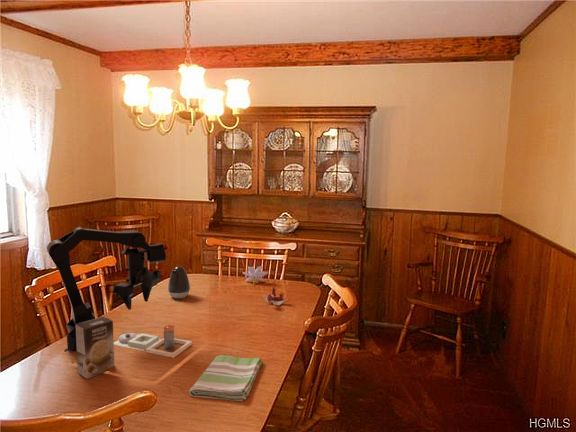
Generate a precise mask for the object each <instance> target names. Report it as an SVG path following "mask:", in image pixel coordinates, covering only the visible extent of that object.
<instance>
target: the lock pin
mask: <svg viewBox="0 0 576 432" xmlns="http://www.w3.org/2000/svg"><path fill="white" fill-rule="evenodd" d="M163 338H164V343H163V345H164V346H163V348H164V351H167V352H170V351H173V350H174V349H175V342H174V338H175V326H174V325H171V324H170V325H169V324H168V325H166V326H163Z"/></svg>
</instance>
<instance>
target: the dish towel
mask: <svg viewBox="0 0 576 432" xmlns="http://www.w3.org/2000/svg"><path fill="white" fill-rule="evenodd" d="M263 363H264V362H263V361H262V358H261V357H250V358H249V357H237V356H233V355H226V354H223V355H221V354H220V355H216V356H215V357H214V359H213V360H212V361H211V363H210V364H209V365H208V366H207V367H206V369H205V370H204V372H203V373H202V374H201V375H200V376H199V378H198V379H197V380H196V382H195V383H194V384H193V385H192V386H191V388H189V390H188V392H189V395H190V396H191V397H195V398H204V399H205V398H206V399H216V400H225V401H226V400H227V401H233V402H234V401H236V402H238V401H239V402H244V400H247V398H248V396H249V394H250V392H251V390H252V387H253V385H254V383H255V379H256V378H257V376H258V374H259V372H260V370H261V369H262V366H263Z"/></svg>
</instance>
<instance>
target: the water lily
mask: <svg viewBox="0 0 576 432" xmlns="http://www.w3.org/2000/svg"><path fill="white" fill-rule="evenodd" d="M262 267H263V266H261V265H260V266H257V267H256V268H255V267H254V266H247V271H246V272H244V271H241V272H242V274H243V275H244V276H247V277H248V278H246V279H245V280H244V281H245V282H250V281H252V280H253V287H255V285H256V284H255V283H256V281H258V282H262V283H263V282H265V279H263V278H261V277H264V276H266V275H267V274H268V273H269V271H264V270H262V269H263V268H262ZM255 280H256V281H255Z"/></svg>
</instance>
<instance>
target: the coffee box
mask: <svg viewBox="0 0 576 432" xmlns="http://www.w3.org/2000/svg"><path fill="white" fill-rule="evenodd" d="M114 342H115V341H114V321H113V320H112V319H110V318H108V317H106V316H100V317H96V318H93V319H92V320H88V321H84V322H81V323H77V324H76V344H77V351H76V360H77V361H76V364H77V365H76V366H77V373H78V374H79V375H81V376H82V377H84V378H85V379H86V380H87V379H90V378H93V377H95V376H98V375H101V374H103V373H106V372H109V370H108V369H110V368H112V367H115V345H114Z"/></svg>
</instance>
